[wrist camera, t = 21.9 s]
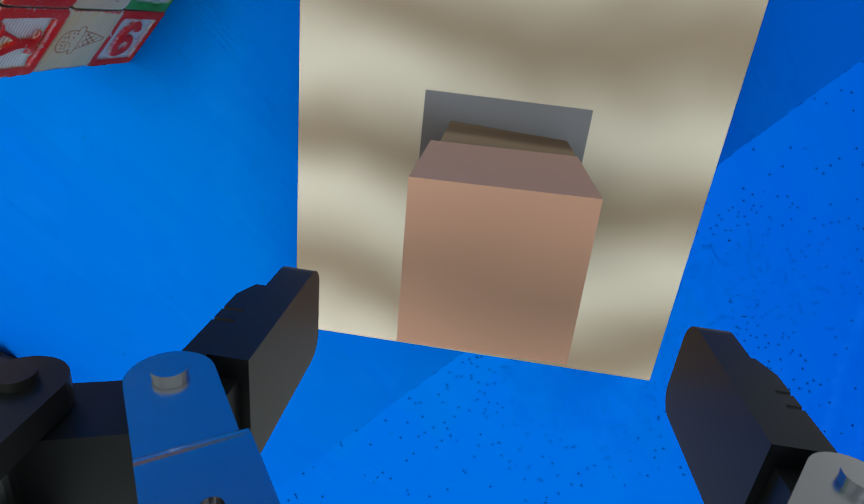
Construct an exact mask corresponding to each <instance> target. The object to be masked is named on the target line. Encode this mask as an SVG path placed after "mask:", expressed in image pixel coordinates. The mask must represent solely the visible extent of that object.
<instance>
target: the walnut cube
mask: <svg viewBox="0 0 864 504" xmlns="http://www.w3.org/2000/svg"><path fill="white" fill-rule="evenodd" d="M440 141H443V142H452V143H461V144H470V145H479V146H488V147H497V148H506V149H515V150H524V151H533V152H542V153H551V154H560V155H569V156H576V155H575V154H574V152H573V150H572V149H571V147H570V145H569V143H568V142H567V141H564V140H558V139H553V138H547V137H541V136H536V135H530V134H524V133H518V132H513V131H507V130H501V129H495V128H490V127H484V126H478V125H472V124H467V123H461V122H455V121H450V123H449V125H448V127H447V129H446V131H445V133H444V135H443V137H442V138H441V140H440Z"/></svg>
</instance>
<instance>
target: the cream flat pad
mask: <svg viewBox="0 0 864 504" xmlns="http://www.w3.org/2000/svg"><path fill="white" fill-rule="evenodd" d="M768 1H769V0H300V62H299V145H298V228H297V268H299V269H306V270H313V271H317V272H318V274H319V320H318V329H321V330H327V331H334V332H340V333H347V334H353V335H360V336H366V337H373V338H379V339H386V340H392V341H396V339H397V326H398V312H399V298H400V285H401V271H402V258H403V244H404V230H405V217H406V203H407V189H408V177H409V175H410V173H411V172H412V170H413V168H414V167H415V165H416V163H417V162H418V160H419V159H420V157H421V155H422V154H423V152H424V150H425V149H426V147H427V146H428V144H429V142H430V141H431V140H434V141H440V140H441V138H442V137H443V135H444V133H445V131H446V129H447V127H448V125H449V123H450V121H455V122H461V123H467V124H472V125H478V126H484V127H490V128H495V129H501V130H507V131H513V132H518V133H524V134H530V135H536V136H541V137H547V138H553V139H558V140H564V141H567V142H568V143H569V145H570V147H571V149H572V150H573V152H574V154H575V155H576V156H577V157H578V158H579V160H580V161H581V163H582V165H583V166H584V168H585V170H586V172H587V173H588V175H589V177H590V178H591V180H592V182H593V183H594V185H595V187H596V188H597V190H598V192H599V193H600V195H601V197H602V199H603V201H602V206H601V211H600V215H599V220H598V224H597V229H596V234H595V238H594V243H593V247H592V252H591V257H590V261H589V266H588V270H587V275H586V280H585V284H584V289H583V293H582V298H581V303H580V307H579V312H578V316H577V321H576V326H575V330H574V335H573V339H572V344H571V349H570V353H569V358H568V362H567V365H565V364H558V363H551V362H544V361H536V360H529V359H522V358H515V357H508V356H500V355H493V354H486V353H479V352H472V351H464V350H457V349H450V348H444V349H450V350H457V351H463V352H470V353H476V354H482V355H489V356H495V357H502V358H508V359H515V360H521V361H528V362H534V363H541V364H547V365H553V366H560V367H566V368H573V369H579V370H586V371H592V372H599V373H605V374H612V375H618V376H625V377H631V378H637V379H644V380H650V377H651V374H652V370H653V367H654V364H655V361H656V358H657V355H658V351H659V348H660V345H661V342H662V339H663V335H664V332H665V329H666V326H667V323H668V319H669V316H670V313H671V310H672V307H673V304H674V300H675V297H676V294H677V291H678V288H679V284H680V281H681V278H682V275H683V272H684V268H685V265H686V262H687V259H688V256H689V253H690V249H691V246H692V243H693V240H694V237H695V233H696V230H697V227H698V224H699V221H700V217H701V214H702V211H703V208H704V205H705V202H706V198H707V195H708V192H709V189H710V186H711V182H712V179H713V176H714V173H715V170H716V166H717V163H718V160H719V157H720V154H721V150H722V147H723V144H724V141H725V138H726V135H727V131H728V128H729V125H730V122H731V119H732V115H733V112H734V109H735V106H736V103H737V99H738V96H739V93H740V90H741V87H742V84H743V80H744V77H745V74H746V71H747V68H748V64H749V61H750V58H751V55H752V52H753V48H754V45H755V42H756V39H757V36H758V33H759V29H760V26H761V23H762V20H763V17H764V13H765V10H766V7H767V4H768ZM405 343H407V342H405ZM411 344H414V343H411ZM418 345H421V344H418ZM424 346H428V345H424ZM431 347H435V346H431ZM437 348H443V347H437Z"/></svg>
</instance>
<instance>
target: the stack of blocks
mask: <svg viewBox="0 0 864 504" xmlns="http://www.w3.org/2000/svg"><path fill="white" fill-rule="evenodd" d="M172 1H173V0H0V78H1V77H12V76H16V75H25V74H30V73H31V72H38V71H45V70H52V69H61V68H71V67H79V66H84V65H85V66H98V65H106V64H115V63H126V62H129V61H131V60H132V58H133V57H134V55H135V54H136V53H137V51H138V50H139V49H140V47H141V46H142V45H143V43H144V42H145V40H146V39H147V38H148V36H149V35H150V34H151V32H152V31H153V29H154V28H155V27H156V25H157V24H158V22H159V21H160V20H161V18H162V17H163V16H164V14H165V11H166V10H167V8H168V7H169V5H170V4H171V3H172Z"/></svg>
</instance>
